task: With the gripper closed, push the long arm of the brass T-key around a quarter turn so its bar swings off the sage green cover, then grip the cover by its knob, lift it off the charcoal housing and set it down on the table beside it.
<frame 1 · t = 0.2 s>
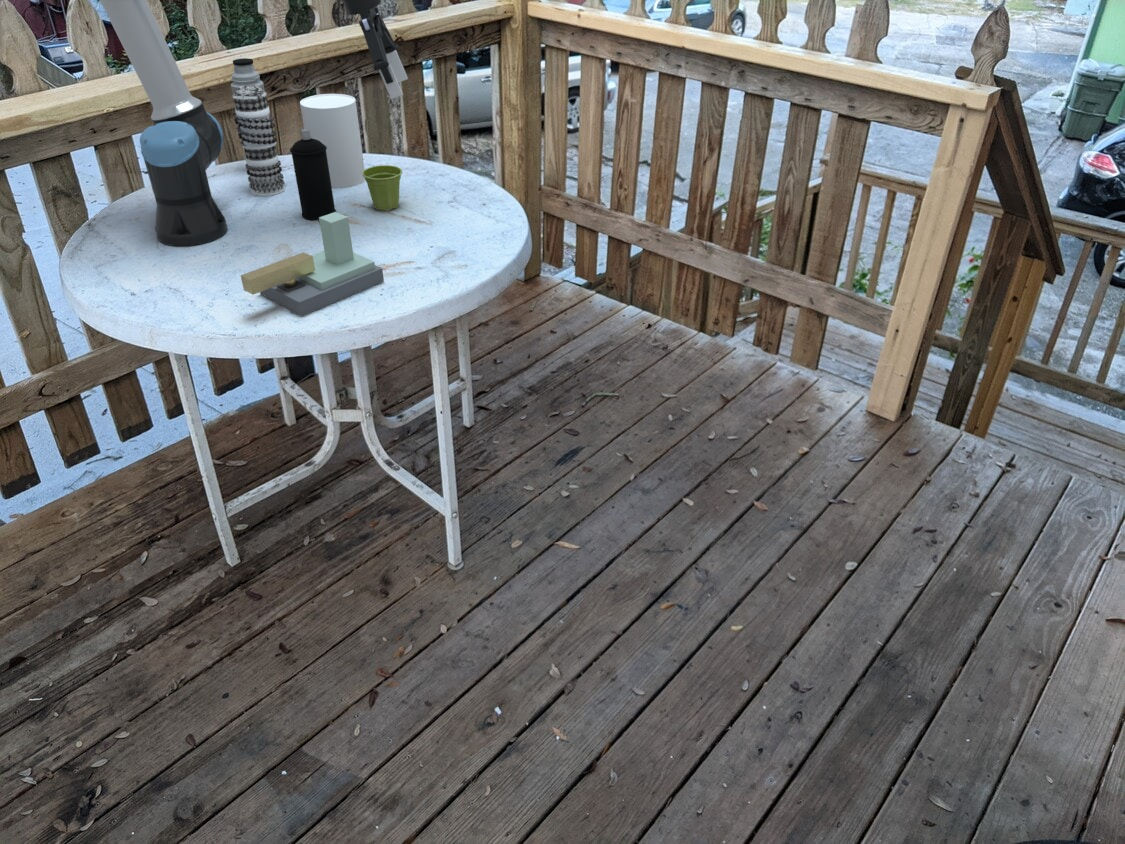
hand: (399, 88, 193), 28 cm above the table, tool tilted 20°, fingers open, 13 cm apart
aerosol can: (319, 215, 205), on the table
decorative candle: (268, 190, 218), on the table
plant pot: (386, 207, 209), on the table
cover: (330, 270, 173), point 3 cm above the table, touching housing
canister: (339, 180, 224), on the table
thermos bottle: (264, 170, 230), on the table
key: (279, 276, 164), point 6 cm above the table, hinge at 0.0°
housing: (323, 287, 173), on the table
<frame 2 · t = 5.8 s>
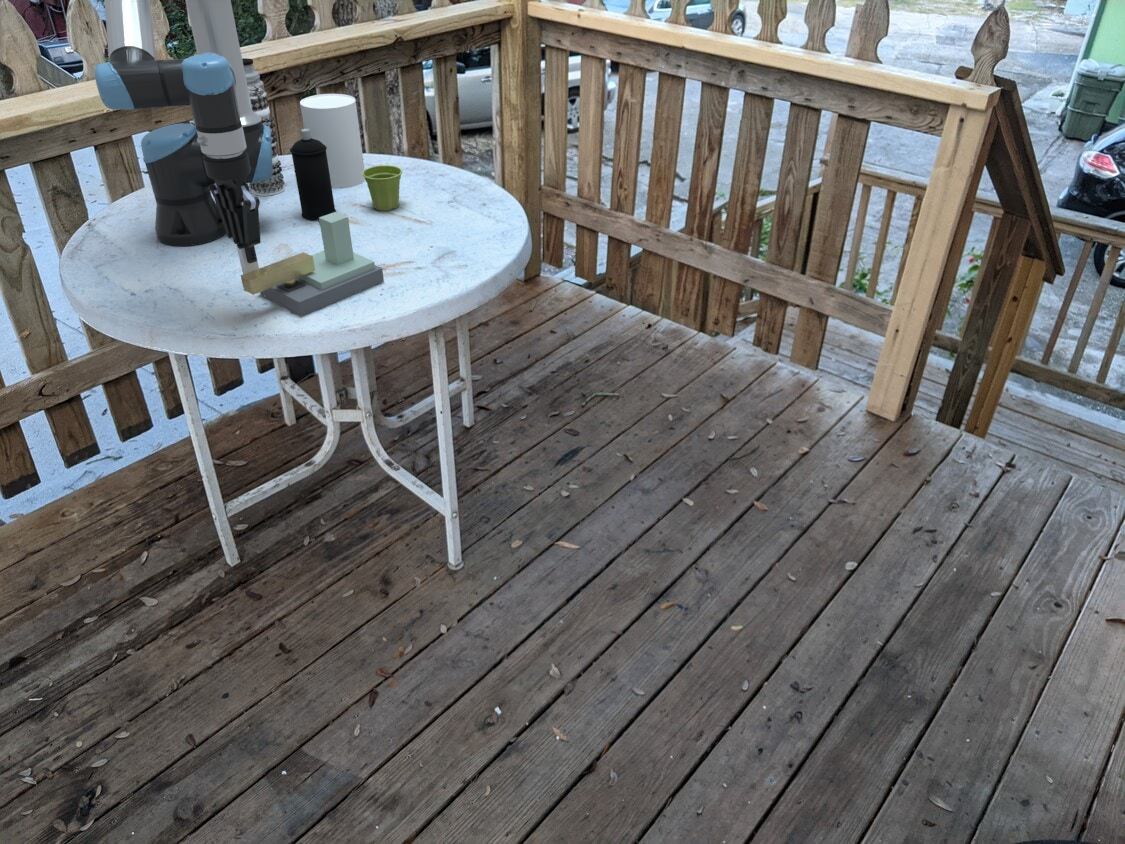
hand: (252, 276, 162), 7 cm above the table, tool pointing down, fingers closed
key: (279, 276, 164), point 6 cm above the table, hinge at 0.1°, touching gripper
everything else where it was.
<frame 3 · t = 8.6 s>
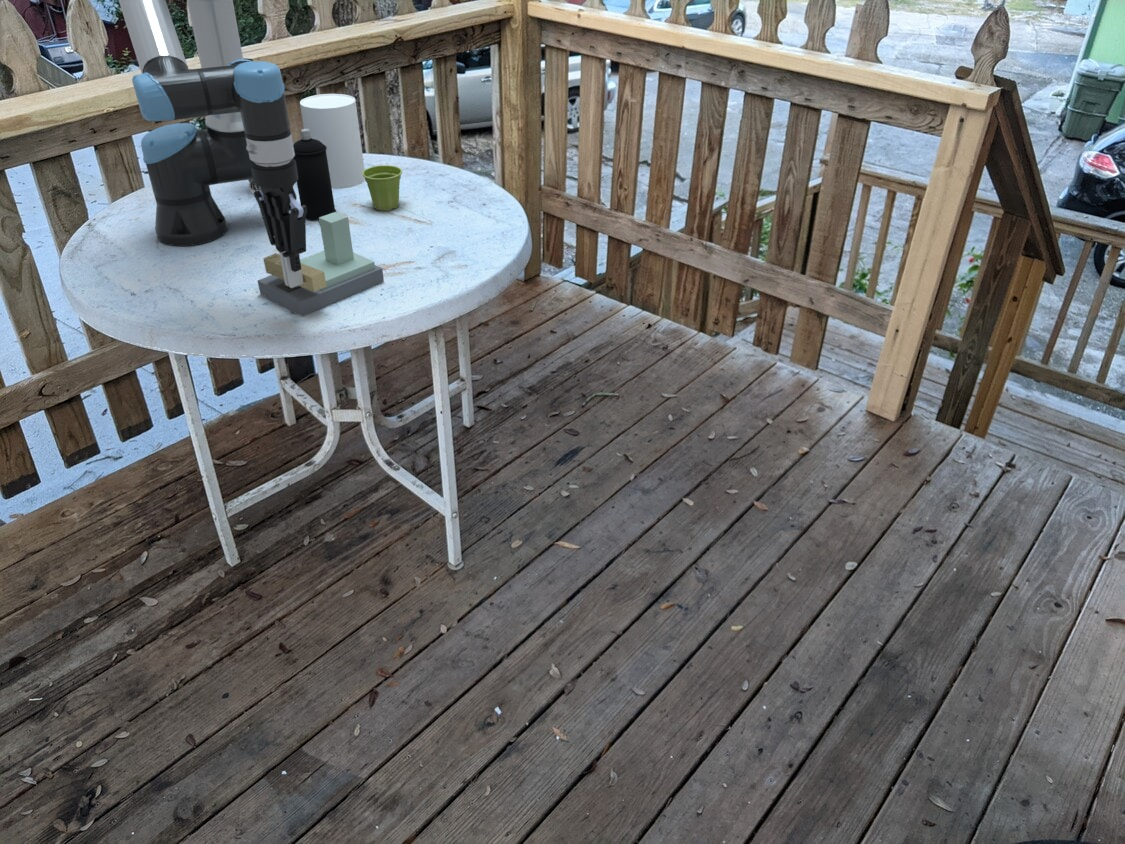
hand: (294, 284, 160), 6 cm above the table, tool pointing down, fingers closed, pressing on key
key: (295, 276, 164), point 6 cm above the table, hinge at 95.1°, touching gripper
everything else where it was.
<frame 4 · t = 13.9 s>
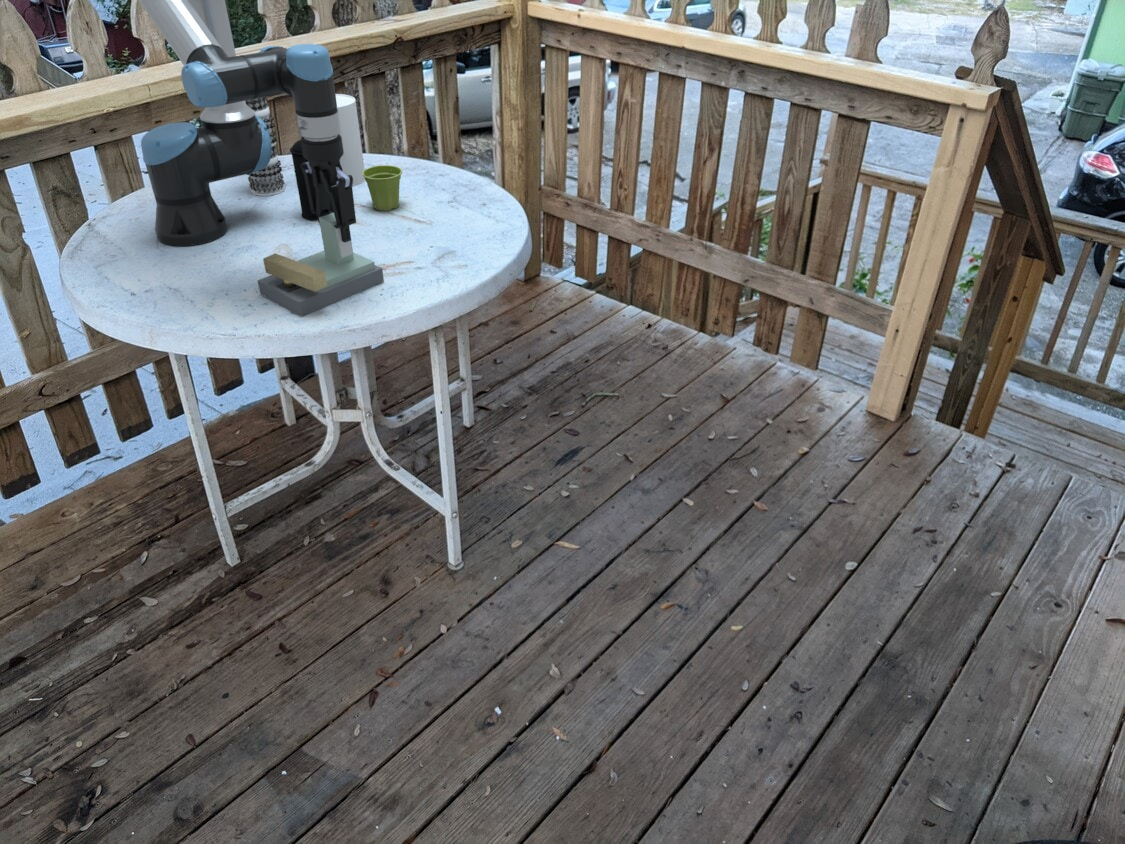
hand: (338, 251, 172), 6 cm above the table, tool pointing down, fingers closed on cover, 4 cm apart
cover: (330, 270, 173), point 3 cm above the table, touching gripper, housing
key: (295, 276, 164), point 6 cm above the table, hinge at 96.1°
everything else where it was.
when the fingers open (5 cm above the table, at t = 21.1 s): cover drops 2 cm, on the table.
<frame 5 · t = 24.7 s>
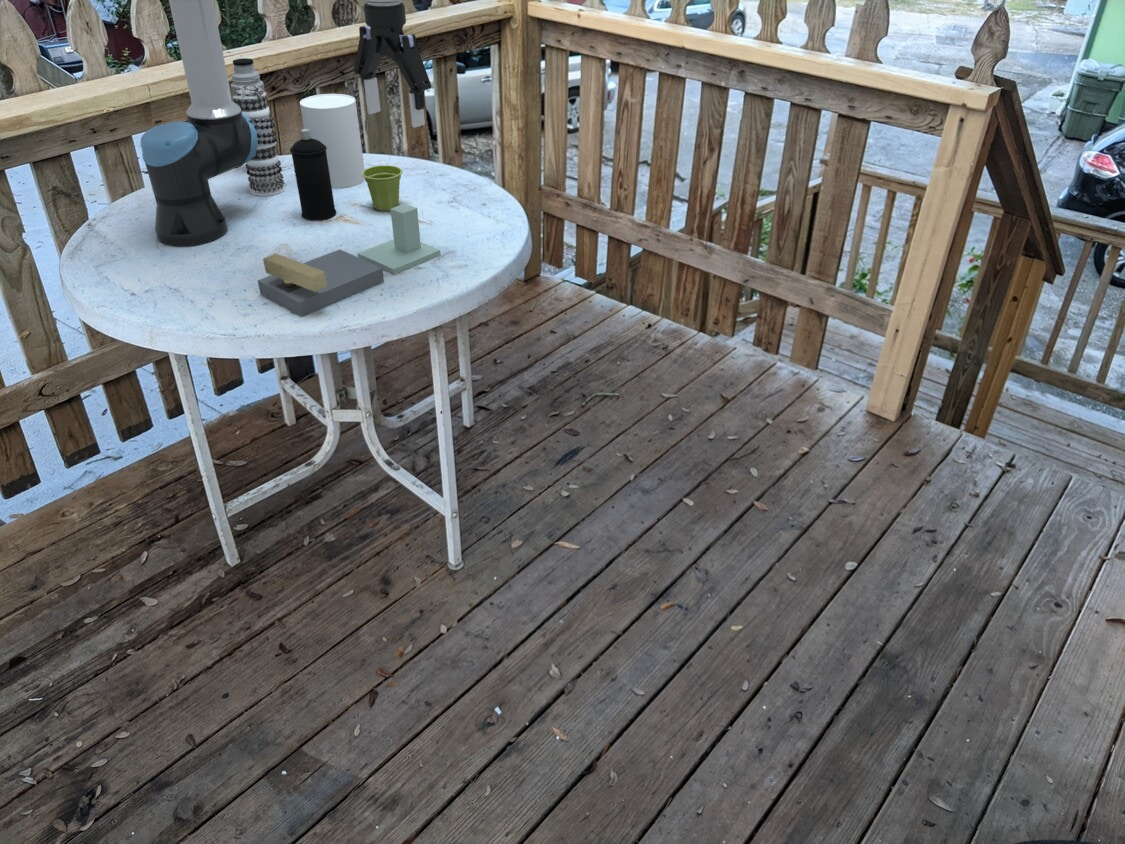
hand: (395, 119, 170), 29 cm above the table, tool pointing down, fingers open, 13 cm apart
cover: (399, 257, 186), on the table
everything else where it was.
at the end: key at +96° (first picture: +0°); cover inside the target area (2.9 cm from its centre), on the table; cover touching table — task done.
